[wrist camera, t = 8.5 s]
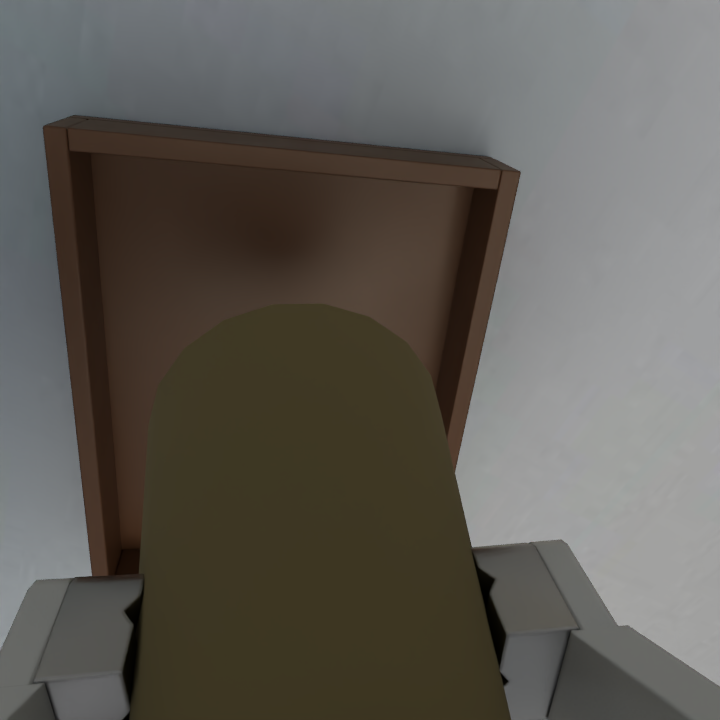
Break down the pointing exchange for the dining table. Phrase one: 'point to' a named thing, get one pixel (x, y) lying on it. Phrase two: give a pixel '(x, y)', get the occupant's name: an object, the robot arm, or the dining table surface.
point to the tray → (252, 269)
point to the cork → (306, 533)
